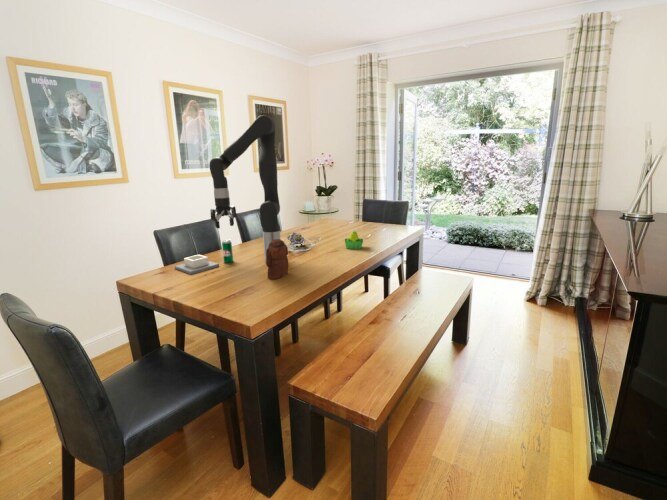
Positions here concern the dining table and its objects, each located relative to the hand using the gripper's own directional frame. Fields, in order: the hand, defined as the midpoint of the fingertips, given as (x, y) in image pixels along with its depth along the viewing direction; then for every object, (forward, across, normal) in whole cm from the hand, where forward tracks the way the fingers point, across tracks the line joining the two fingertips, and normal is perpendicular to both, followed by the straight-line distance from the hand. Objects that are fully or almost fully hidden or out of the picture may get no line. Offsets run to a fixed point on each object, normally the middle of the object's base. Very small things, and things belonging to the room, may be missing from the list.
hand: (225, 226), depth 188 cm
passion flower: (+20, +45, -8) cm, 50 cm away
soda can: (+20, 0, 0) cm, 20 cm away
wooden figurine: (+20, 0, -40) cm, 45 cm away
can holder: (+20, -16, +5) cm, 26 cm away
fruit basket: (+20, +63, -40) cm, 77 cm away
